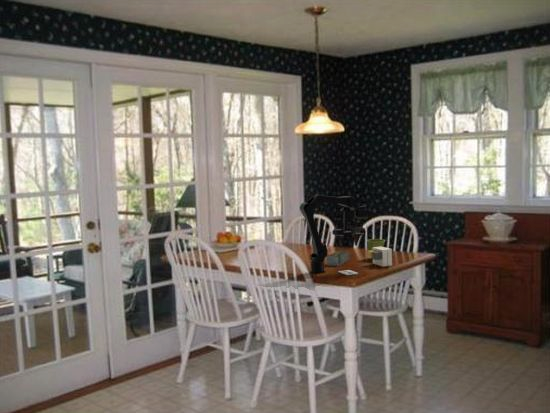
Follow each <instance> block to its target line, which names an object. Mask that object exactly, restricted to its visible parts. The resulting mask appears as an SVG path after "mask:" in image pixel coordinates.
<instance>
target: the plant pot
mask: <svg viewBox="0 0 550 413" xmlns="http://www.w3.org/2000/svg"><path fill="white" fill-rule="evenodd" d="M365 241H366V244H367V248H368V251H371V250H372V247H385V246H384V245H385V242H386V239H381V238H372V239H371V238H370V239H366V240H365ZM371 260H373V259H372V258H371Z"/></svg>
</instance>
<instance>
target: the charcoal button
mask: <svg viewBox="0 0 550 413" xmlns="http://www.w3.org/2000/svg"><path fill="white" fill-rule="evenodd" d="M373 259H374V260H380V259H382V252H372V259H371V260H373Z"/></svg>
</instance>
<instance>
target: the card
mask: <svg viewBox="0 0 550 413" xmlns="http://www.w3.org/2000/svg"><path fill="white" fill-rule="evenodd" d="M337 272H338V273H340V274H343V275H346V276H350V275H358V274H359V272H357V271H354V270H350V269H347V270H346V269H344V270H338V271H337Z"/></svg>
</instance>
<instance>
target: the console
mask: <svg viewBox="0 0 550 413" xmlns="http://www.w3.org/2000/svg"><path fill="white" fill-rule="evenodd" d="M372 250H375V251H377V252H382V259H380V260H374V259H372V265H376V266H377V265H378V266H380V267H390V266H393V251H392V250H393V249H392V248H389V247H385V246H384V247H372Z"/></svg>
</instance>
